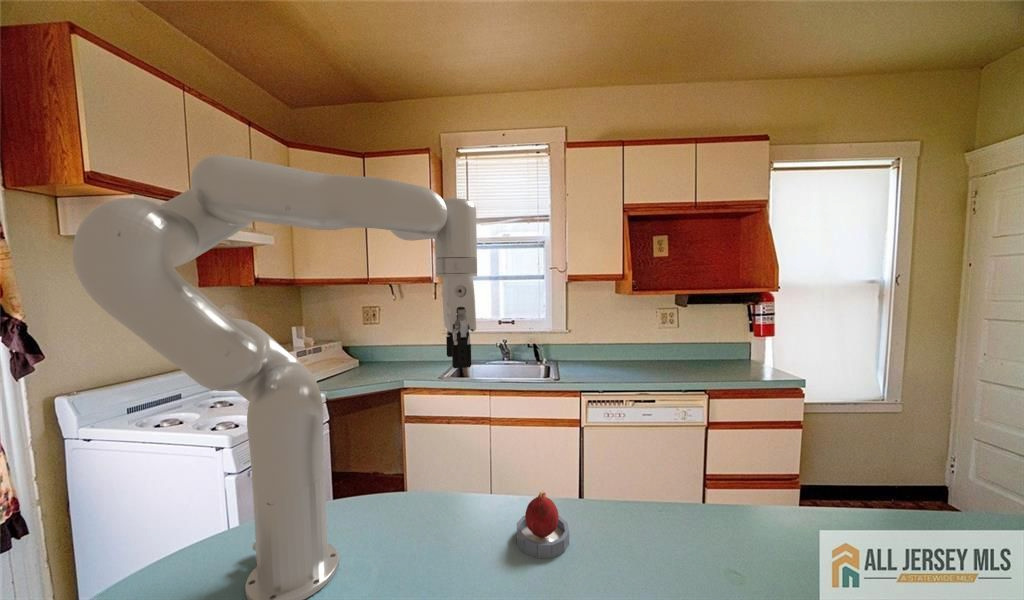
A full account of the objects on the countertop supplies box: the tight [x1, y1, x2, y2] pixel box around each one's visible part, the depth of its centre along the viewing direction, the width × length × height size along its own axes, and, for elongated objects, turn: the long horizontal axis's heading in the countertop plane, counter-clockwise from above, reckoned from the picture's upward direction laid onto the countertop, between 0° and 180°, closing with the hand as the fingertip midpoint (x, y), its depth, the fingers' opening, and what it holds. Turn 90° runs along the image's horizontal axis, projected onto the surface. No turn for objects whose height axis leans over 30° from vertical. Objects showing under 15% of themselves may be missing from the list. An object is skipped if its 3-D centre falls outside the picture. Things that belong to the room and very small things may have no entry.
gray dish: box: [516, 515, 570, 559], centre depth 69 cm, size 9×9×2 cm
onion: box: [524, 490, 560, 538], centre depth 68 cm, size 6×6×8 cm
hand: (458, 361), depth 73 cm, fingers open, 9 cm apart
